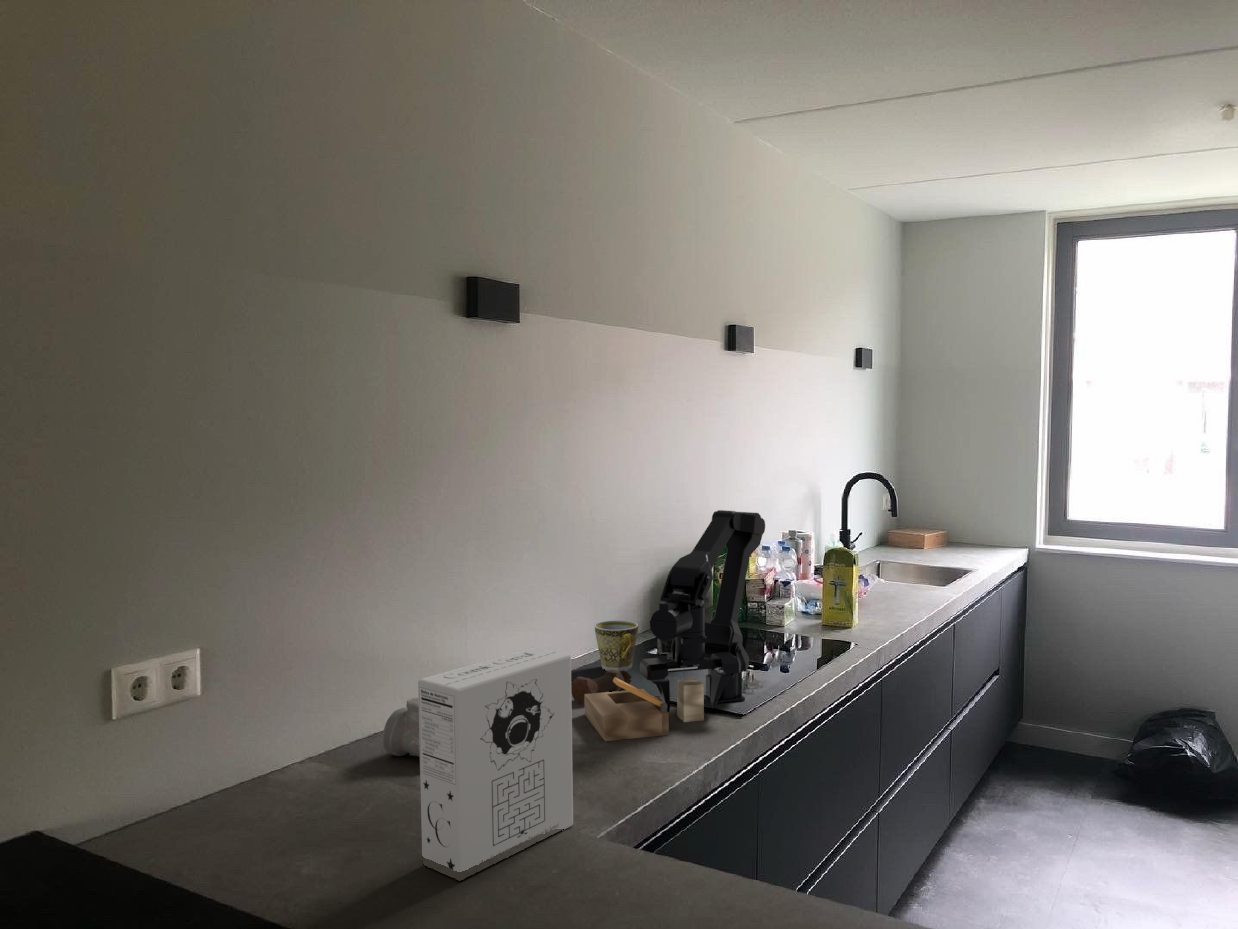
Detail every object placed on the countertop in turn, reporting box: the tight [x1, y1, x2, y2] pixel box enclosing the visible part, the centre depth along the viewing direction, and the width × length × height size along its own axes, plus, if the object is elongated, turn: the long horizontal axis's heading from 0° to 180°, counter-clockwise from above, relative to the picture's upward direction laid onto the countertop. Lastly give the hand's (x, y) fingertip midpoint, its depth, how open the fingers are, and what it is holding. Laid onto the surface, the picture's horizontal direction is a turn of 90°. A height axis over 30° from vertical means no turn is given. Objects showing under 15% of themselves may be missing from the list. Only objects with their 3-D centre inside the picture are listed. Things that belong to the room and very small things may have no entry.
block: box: [583, 688, 670, 742], centre depth 185 cm, size 12×16×5 cm
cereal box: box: [417, 646, 574, 872], centre depth 134 cm, size 22×8×25 cm, turn 141°
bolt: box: [571, 670, 632, 705], centre depth 205 cm, size 6×5×15 cm
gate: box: [613, 677, 665, 708], centre depth 181 cm, size 11×3×1 cm, turn 106°
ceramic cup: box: [594, 619, 639, 672], centre depth 223 cm, size 13×10×10 cm
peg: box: [676, 678, 705, 723], centre depth 188 cm, size 4×4×7 cm
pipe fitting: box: [381, 697, 420, 758], centre depth 168 cm, size 12×8×10 cm
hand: (690, 710), depth 189 cm, fingers open, 9 cm apart
